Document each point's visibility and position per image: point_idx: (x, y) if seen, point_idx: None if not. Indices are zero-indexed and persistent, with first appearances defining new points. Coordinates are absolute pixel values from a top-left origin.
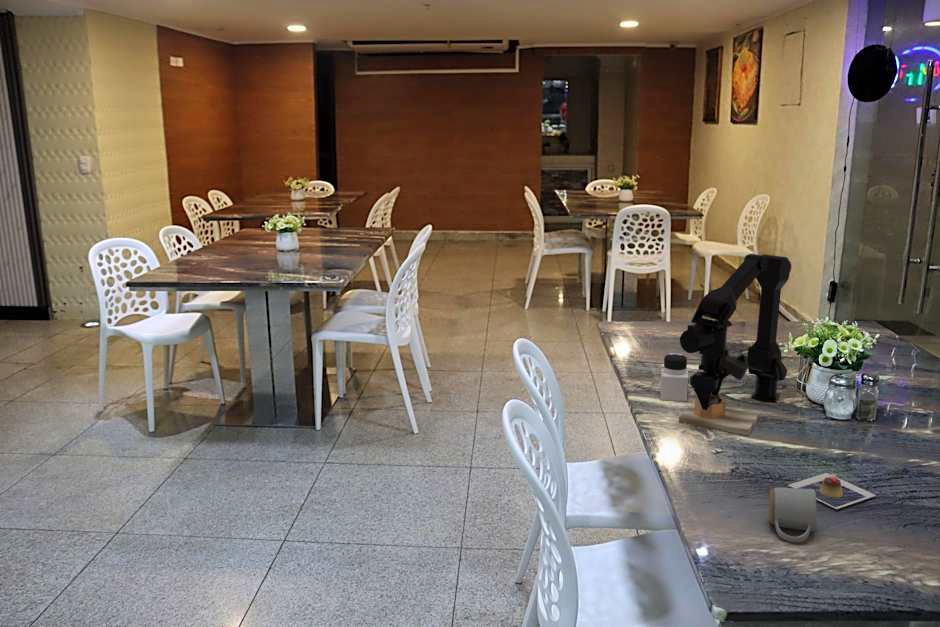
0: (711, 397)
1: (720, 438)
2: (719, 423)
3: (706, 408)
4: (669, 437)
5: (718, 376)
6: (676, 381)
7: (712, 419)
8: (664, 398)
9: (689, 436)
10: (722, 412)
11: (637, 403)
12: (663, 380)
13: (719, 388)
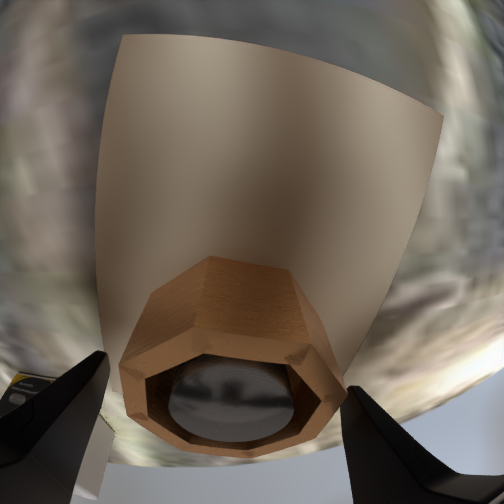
0: (186, 410)
1: (458, 247)
2: (378, 276)
3: (364, 395)
4: (431, 386)
5: (28, 492)
6: None
7: (321, 316)
8: (110, 433)
9: (433, 348)
10: (289, 290)
11: (177, 465)
12: (98, 486)
13: (68, 405)
